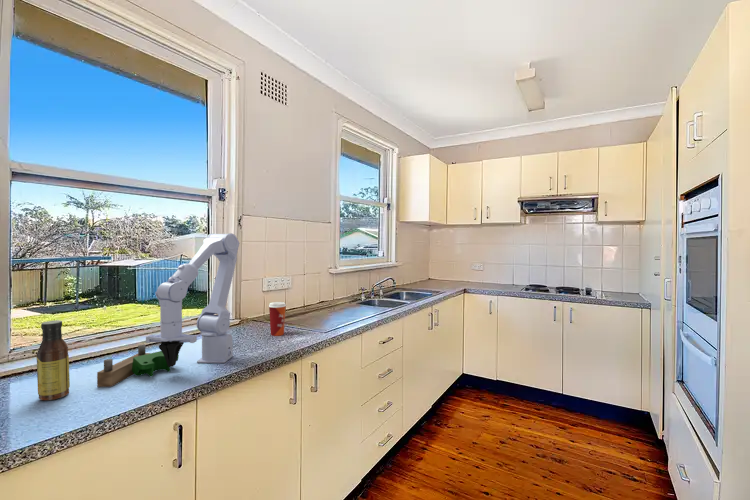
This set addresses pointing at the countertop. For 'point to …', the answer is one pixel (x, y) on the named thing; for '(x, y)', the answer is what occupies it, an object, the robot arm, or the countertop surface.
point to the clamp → (149, 364)
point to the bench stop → (117, 370)
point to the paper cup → (277, 318)
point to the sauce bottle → (52, 363)
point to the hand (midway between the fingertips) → (171, 365)
